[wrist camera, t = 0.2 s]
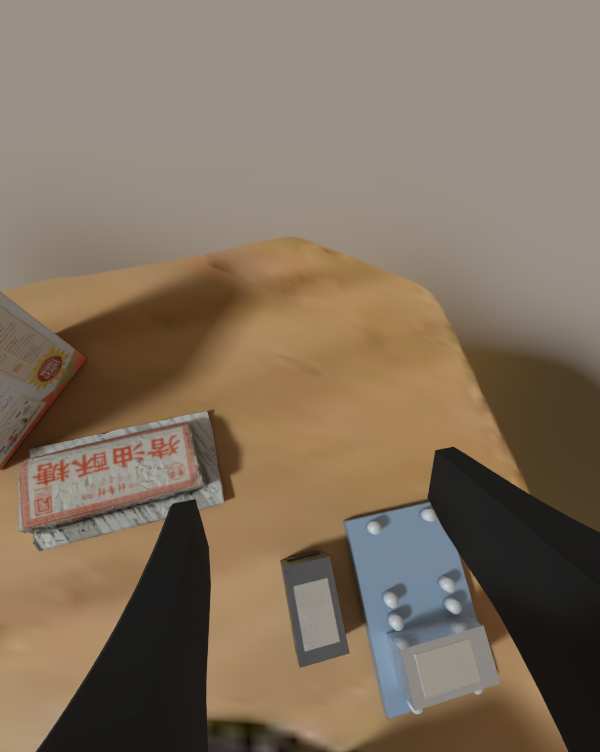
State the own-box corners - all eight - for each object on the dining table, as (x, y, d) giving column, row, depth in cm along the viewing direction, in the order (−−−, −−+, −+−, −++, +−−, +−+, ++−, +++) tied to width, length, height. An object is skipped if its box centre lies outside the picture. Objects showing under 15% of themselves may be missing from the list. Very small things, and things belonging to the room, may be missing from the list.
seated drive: (476, 663, 37) (502, 683, 33) (397, 687, 35) (415, 711, 31) (462, 611, 38) (485, 625, 34) (385, 633, 37) (401, 650, 33)
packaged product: (10, 560, 32) (5, 444, 35) (41, 551, 37) (35, 450, 39) (222, 504, 35) (203, 402, 38) (226, 503, 40) (209, 412, 42)
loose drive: (322, 548, 39) (329, 554, 36) (339, 636, 37) (349, 653, 33) (279, 558, 39) (282, 566, 35) (295, 649, 37) (300, 668, 33)
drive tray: (488, 678, 37) (505, 692, 35) (384, 711, 36) (394, 728, 33) (438, 499, 42) (449, 499, 39) (343, 520, 40) (349, 522, 38)
